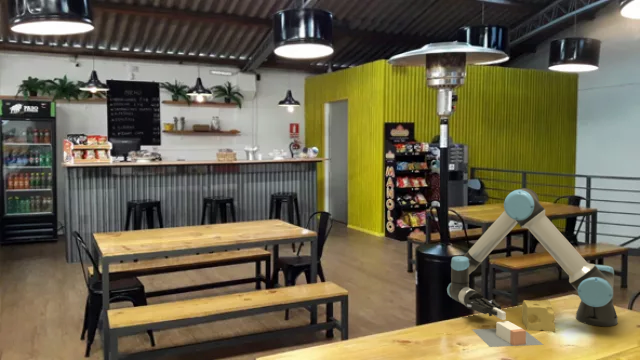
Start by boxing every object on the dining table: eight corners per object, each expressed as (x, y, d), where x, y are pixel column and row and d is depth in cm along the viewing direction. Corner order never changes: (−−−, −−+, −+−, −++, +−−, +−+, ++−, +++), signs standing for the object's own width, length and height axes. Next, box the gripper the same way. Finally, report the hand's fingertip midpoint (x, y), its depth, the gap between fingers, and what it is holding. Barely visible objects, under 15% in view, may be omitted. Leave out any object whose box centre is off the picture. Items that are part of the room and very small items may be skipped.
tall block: (508, 320, 203) (525, 330, 193) (507, 333, 204) (525, 344, 193) (496, 322, 202) (513, 331, 191) (496, 335, 202) (513, 345, 192)
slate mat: (521, 329, 210) (521, 327, 210) (543, 346, 192) (543, 344, 192) (471, 330, 209) (471, 329, 209) (489, 348, 191) (489, 346, 191)
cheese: (555, 333, 205) (555, 308, 204) (525, 331, 207) (526, 306, 206) (549, 324, 215) (549, 300, 214) (521, 323, 217) (521, 299, 217)
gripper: (485, 306, 226) (518, 324, 203) (457, 308, 223) (488, 327, 200) (485, 288, 225) (519, 305, 203) (457, 291, 222) (488, 308, 199)
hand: (503, 316), depth 201 cm, fingers closed
